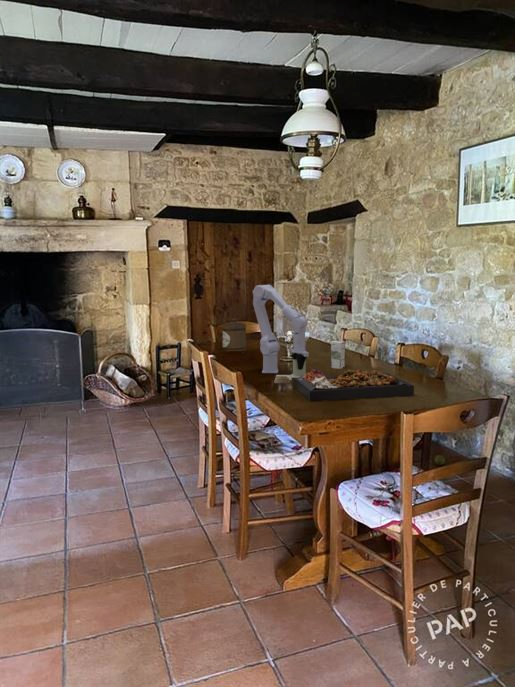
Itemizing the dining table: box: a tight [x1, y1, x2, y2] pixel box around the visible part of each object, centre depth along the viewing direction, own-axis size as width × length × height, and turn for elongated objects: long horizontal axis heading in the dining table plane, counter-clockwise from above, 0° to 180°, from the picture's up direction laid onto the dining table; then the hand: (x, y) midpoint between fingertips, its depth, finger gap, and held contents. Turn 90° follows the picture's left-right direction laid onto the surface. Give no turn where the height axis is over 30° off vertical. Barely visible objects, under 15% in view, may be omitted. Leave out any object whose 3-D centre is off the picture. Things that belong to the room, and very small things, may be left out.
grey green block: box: [292, 359, 307, 376], centre depth 244 cm, size 2×6×8 cm, turn 116°
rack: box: [274, 374, 292, 381], centre depth 239 cm, size 5×8×2 cm, turn 86°
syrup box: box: [330, 339, 346, 370], centre depth 263 cm, size 6×6×14 cm
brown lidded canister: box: [221, 317, 247, 351], centre depth 311 cm, size 15×15×22 cm
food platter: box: [293, 368, 415, 402], centre depth 216 cm, size 45×25×10 cm, turn 101°
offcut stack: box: [273, 375, 291, 384], centre depth 232 cm, size 2×7×3 cm, turn 88°
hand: (299, 369), depth 244 cm, fingers closed on grey green block, 2 cm apart
